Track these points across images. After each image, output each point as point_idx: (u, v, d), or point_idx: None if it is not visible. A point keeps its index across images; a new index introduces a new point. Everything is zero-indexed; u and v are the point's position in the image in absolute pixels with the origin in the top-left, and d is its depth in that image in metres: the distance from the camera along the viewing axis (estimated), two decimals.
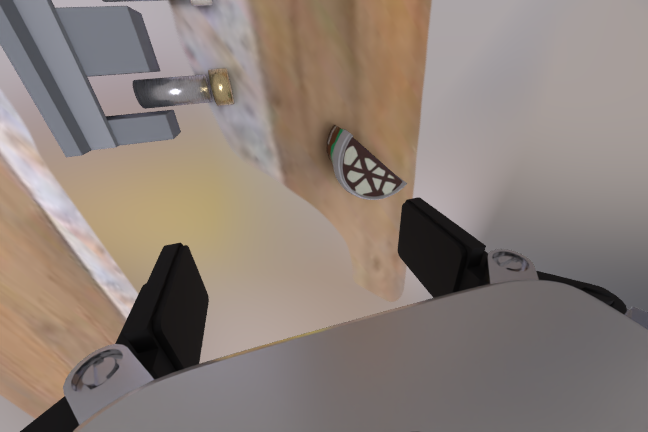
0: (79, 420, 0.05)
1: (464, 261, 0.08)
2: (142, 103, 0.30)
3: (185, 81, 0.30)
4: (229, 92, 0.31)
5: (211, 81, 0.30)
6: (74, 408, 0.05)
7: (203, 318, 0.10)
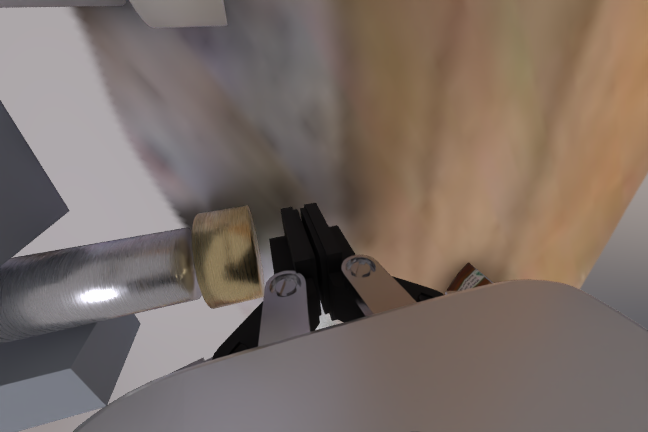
0: (262, 311, 0.07)
1: (325, 266, 0.09)
2: None
3: (115, 272, 0.09)
4: (257, 290, 0.10)
5: (201, 273, 0.09)
6: (264, 301, 0.07)
7: None
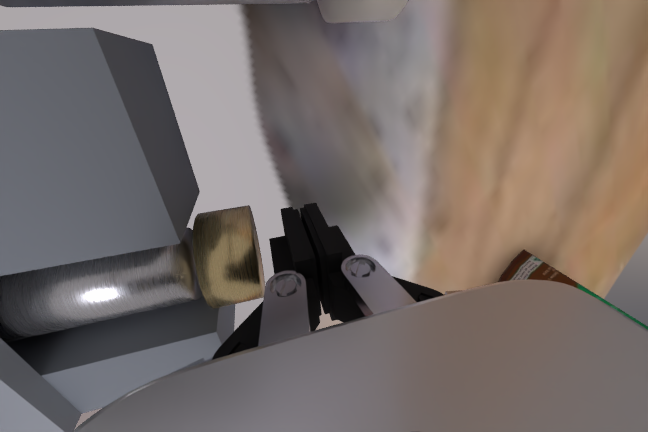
0: (262, 311, 0.07)
1: (325, 266, 0.09)
2: None
3: (115, 272, 0.09)
4: (258, 290, 0.10)
5: (202, 273, 0.09)
6: (264, 301, 0.07)
7: None
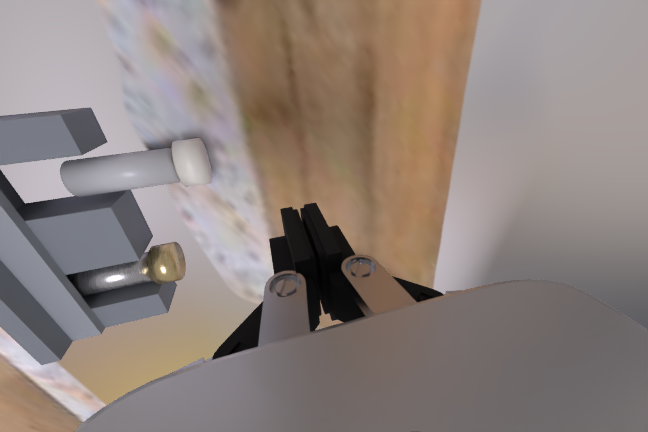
0: (262, 311, 0.07)
1: (325, 266, 0.09)
2: None
3: (119, 270, 0.25)
4: (174, 276, 0.26)
5: (150, 270, 0.25)
6: (264, 301, 0.07)
7: None
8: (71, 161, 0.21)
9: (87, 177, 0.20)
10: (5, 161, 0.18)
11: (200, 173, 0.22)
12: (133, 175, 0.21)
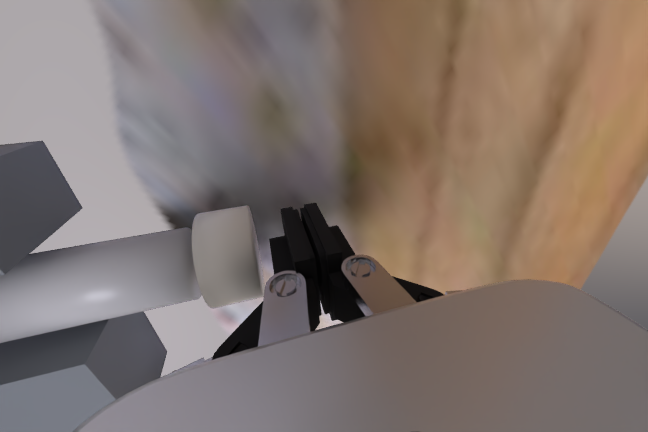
0: (262, 311, 0.07)
1: (325, 266, 0.09)
2: None
3: None
4: None
5: None
6: (264, 301, 0.07)
7: None
8: None
9: None
10: None
11: (252, 291, 0.10)
12: (102, 304, 0.09)
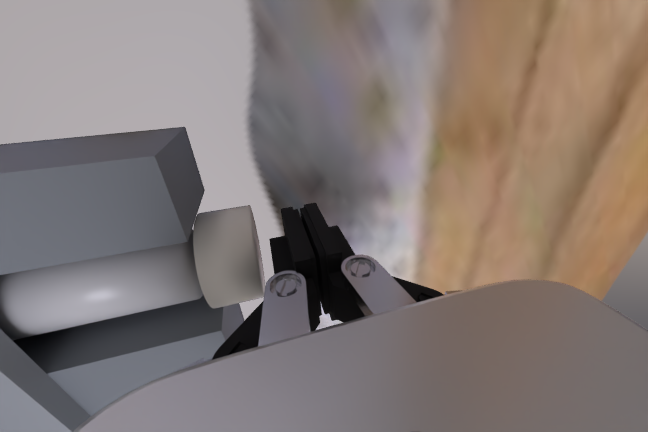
0: (262, 311, 0.07)
1: (325, 266, 0.09)
2: None
3: None
4: None
5: None
6: (264, 301, 0.07)
7: None
8: None
9: None
10: (9, 267, 0.07)
11: (253, 291, 0.10)
12: (103, 304, 0.09)
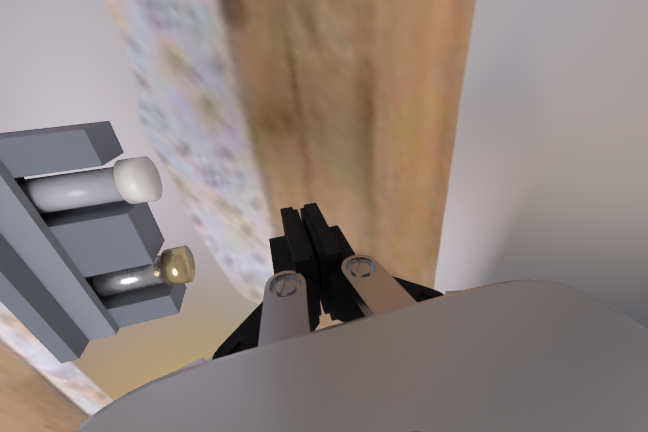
0: (262, 311, 0.07)
1: (325, 266, 0.09)
2: None
3: (134, 272, 0.26)
4: (185, 278, 0.27)
5: (163, 272, 0.26)
6: (264, 301, 0.07)
7: None
8: None
9: (29, 198, 0.21)
10: (33, 172, 0.20)
11: (143, 192, 0.22)
12: (76, 194, 0.22)
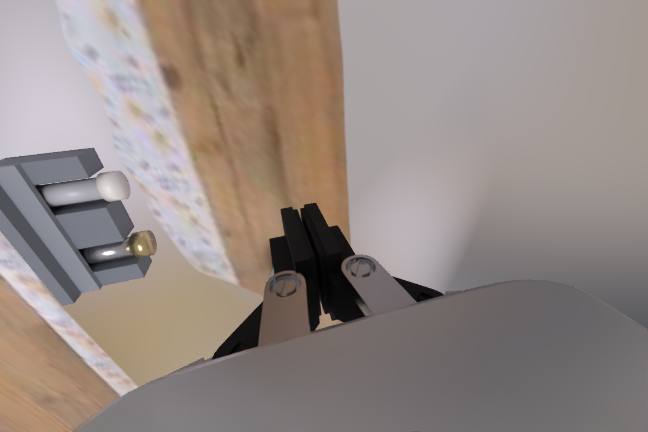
0: (262, 311, 0.07)
1: (325, 266, 0.09)
2: None
3: (111, 247, 0.39)
4: (147, 252, 0.40)
5: (131, 247, 0.39)
6: (264, 301, 0.07)
7: None
8: None
9: (42, 197, 0.34)
10: (46, 181, 0.32)
11: (115, 194, 0.35)
12: (72, 195, 0.34)
